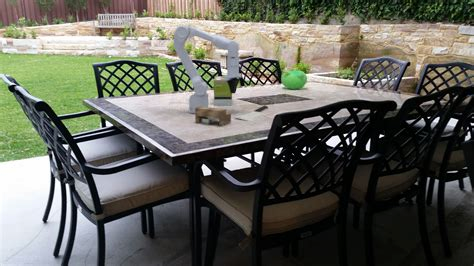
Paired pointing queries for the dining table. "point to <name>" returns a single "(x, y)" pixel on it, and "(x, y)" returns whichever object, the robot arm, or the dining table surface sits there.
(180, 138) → the dining table surface
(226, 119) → the wooden bridge block
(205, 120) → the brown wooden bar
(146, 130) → the dining table surface
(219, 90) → the tea box
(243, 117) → the kitchen cleaver
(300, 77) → the green cabbage
